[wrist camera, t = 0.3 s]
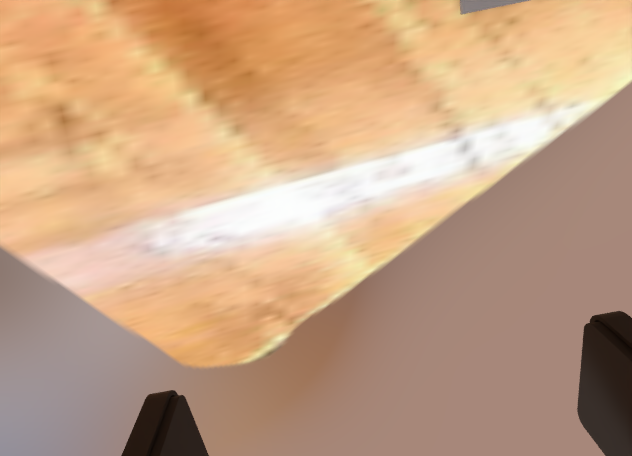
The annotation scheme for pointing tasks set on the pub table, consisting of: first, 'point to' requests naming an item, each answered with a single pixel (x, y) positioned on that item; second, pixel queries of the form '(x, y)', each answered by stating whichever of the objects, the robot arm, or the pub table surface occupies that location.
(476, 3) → the charcoal mat
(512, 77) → the pub table surface
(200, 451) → the robot arm
